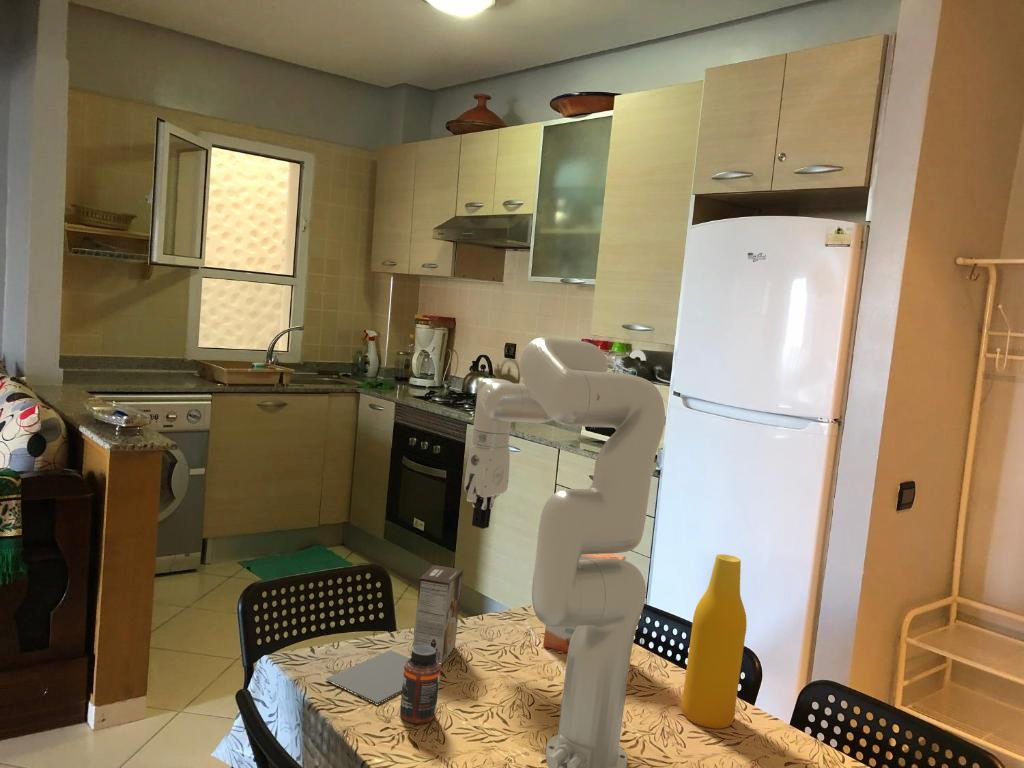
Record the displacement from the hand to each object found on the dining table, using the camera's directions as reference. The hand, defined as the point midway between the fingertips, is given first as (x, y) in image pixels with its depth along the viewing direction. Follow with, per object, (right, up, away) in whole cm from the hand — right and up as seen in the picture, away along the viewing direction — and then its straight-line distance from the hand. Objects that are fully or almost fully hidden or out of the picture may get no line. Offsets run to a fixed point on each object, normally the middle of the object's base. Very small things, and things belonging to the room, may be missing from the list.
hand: (480, 526), depth 163 cm
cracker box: (+20, -26, 0) cm, 33 cm away
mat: (-16, -23, -21) cm, 35 cm away
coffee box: (-9, -23, -9) cm, 26 cm away
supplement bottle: (-9, -25, -33) cm, 43 cm away
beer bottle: (+41, -30, -22) cm, 56 cm away
